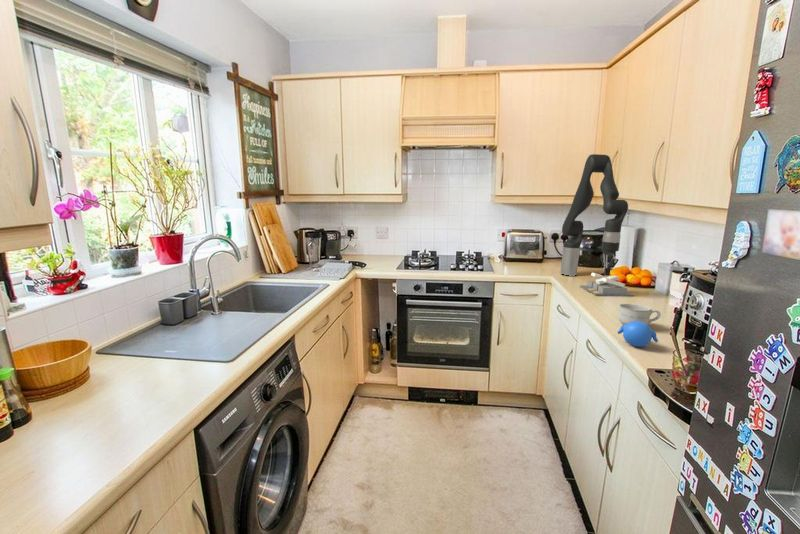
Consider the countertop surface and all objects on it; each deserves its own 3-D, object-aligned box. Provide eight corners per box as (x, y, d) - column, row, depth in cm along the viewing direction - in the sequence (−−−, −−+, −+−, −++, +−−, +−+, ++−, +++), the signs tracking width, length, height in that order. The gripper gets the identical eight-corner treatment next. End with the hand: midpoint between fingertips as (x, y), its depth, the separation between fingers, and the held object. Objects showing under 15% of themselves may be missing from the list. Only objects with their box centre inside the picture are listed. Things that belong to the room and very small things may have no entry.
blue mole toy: (658, 343, 135) (662, 320, 133) (655, 354, 126) (659, 329, 124) (619, 334, 142) (622, 312, 140) (613, 344, 133) (617, 321, 131)
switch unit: (579, 287, 209) (580, 277, 208) (614, 287, 210) (616, 278, 209) (595, 295, 193) (597, 285, 192) (633, 296, 193) (635, 286, 192)
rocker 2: (595, 282, 202) (595, 279, 202) (614, 278, 202) (614, 274, 201) (599, 284, 199) (599, 281, 198) (618, 279, 198) (618, 276, 198)
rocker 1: (590, 275, 207) (592, 272, 207) (608, 280, 208) (609, 277, 207) (594, 276, 203) (595, 273, 203) (611, 282, 204) (613, 279, 204)
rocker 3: (601, 280, 196) (602, 277, 196) (619, 285, 197) (621, 282, 197) (605, 282, 193) (606, 278, 192) (624, 287, 193) (625, 284, 193)
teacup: (615, 326, 150) (617, 307, 148) (617, 319, 159) (620, 300, 157) (658, 335, 142) (661, 314, 141) (658, 326, 151) (661, 306, 150)
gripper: (596, 239, 197) (592, 272, 200) (610, 242, 184) (606, 278, 187) (611, 239, 197) (607, 272, 200) (626, 242, 184) (621, 278, 187)
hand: (606, 275), depth 194 cm, fingers closed
